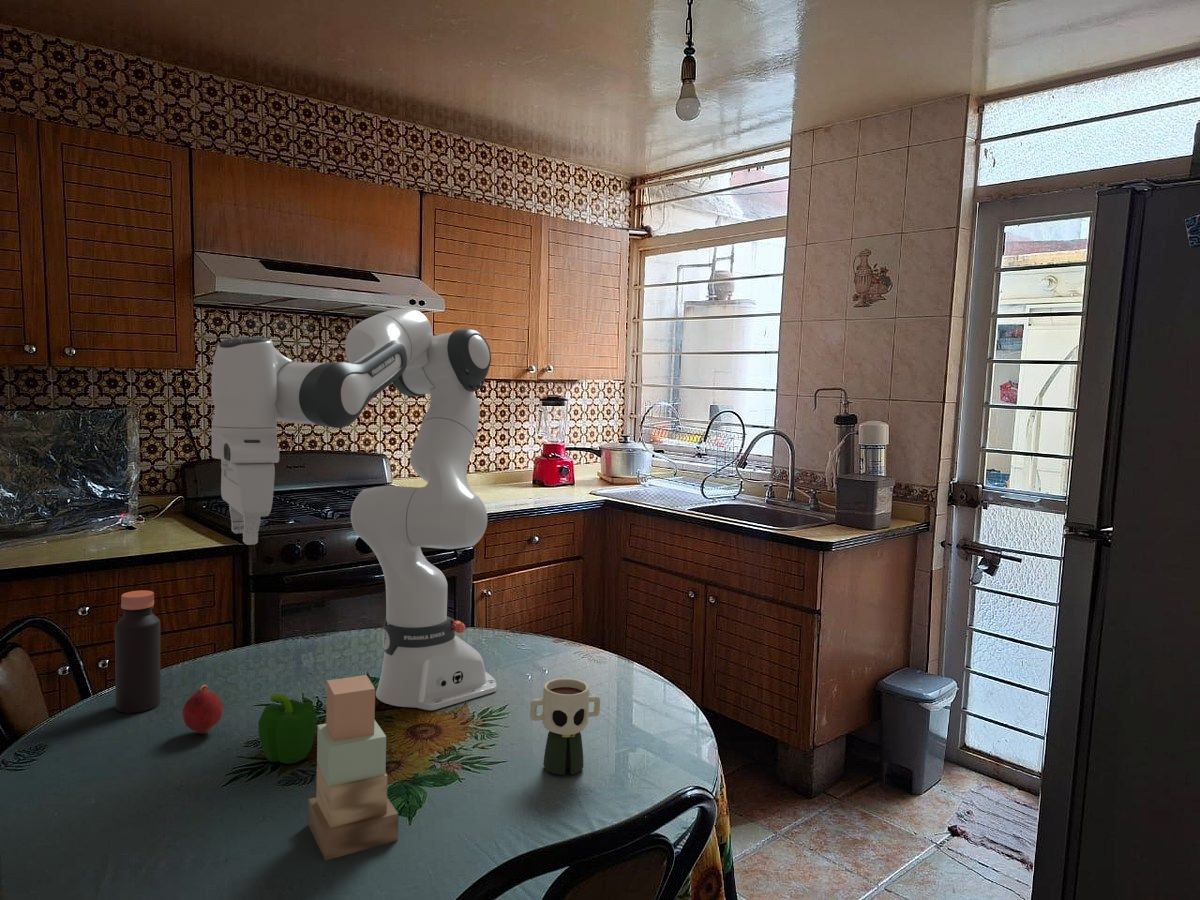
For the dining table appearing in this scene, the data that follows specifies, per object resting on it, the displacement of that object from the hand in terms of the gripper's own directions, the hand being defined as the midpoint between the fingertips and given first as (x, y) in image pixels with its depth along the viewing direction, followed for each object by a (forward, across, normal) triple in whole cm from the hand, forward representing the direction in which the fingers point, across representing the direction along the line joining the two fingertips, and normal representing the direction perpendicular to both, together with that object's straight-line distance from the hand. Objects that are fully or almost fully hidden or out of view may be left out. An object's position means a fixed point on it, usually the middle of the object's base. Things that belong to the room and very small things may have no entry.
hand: (244, 538), depth 118 cm
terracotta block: (+21, +28, +8) cm, 35 cm away
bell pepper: (+34, +3, +6) cm, 35 cm away
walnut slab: (+35, +28, +8) cm, 45 cm away
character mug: (+34, +27, +41) cm, 60 cm away
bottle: (+34, -29, -12) cm, 47 cm away
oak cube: (+31, +28, +8) cm, 43 cm away
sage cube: (+26, +28, +8) cm, 39 cm away
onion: (+34, -12, -4) cm, 37 cm away
